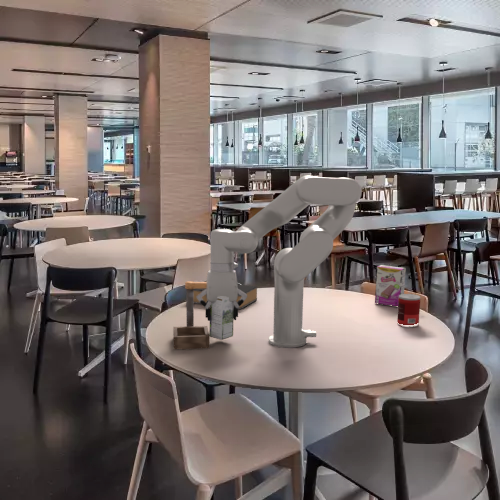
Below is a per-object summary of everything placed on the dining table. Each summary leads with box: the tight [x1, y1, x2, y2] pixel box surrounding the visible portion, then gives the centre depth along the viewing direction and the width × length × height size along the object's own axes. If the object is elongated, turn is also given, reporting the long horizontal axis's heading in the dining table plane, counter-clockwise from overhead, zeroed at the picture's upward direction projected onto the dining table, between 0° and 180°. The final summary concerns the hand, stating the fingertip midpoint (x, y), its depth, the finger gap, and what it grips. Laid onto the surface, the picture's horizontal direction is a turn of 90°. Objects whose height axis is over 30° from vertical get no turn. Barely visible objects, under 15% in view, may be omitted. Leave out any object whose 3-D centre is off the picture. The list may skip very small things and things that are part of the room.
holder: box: [172, 289, 211, 350], centre depth 191 cm, size 11×18×16 cm, turn 8°
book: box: [194, 280, 258, 310], centre depth 244 cm, size 17×25×7 cm
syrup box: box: [208, 296, 235, 341], centre depth 189 cm, size 6×6×14 cm
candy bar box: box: [374, 264, 407, 307], centre depth 242 cm, size 11×5×16 cm, turn 58°
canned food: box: [396, 293, 421, 325], centre depth 213 cm, size 8×8×11 cm
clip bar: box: [184, 281, 207, 289], centre depth 196 cm, size 3×15×2 cm, turn 96°
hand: (221, 319), depth 189 cm, fingers closed on syrup box, 8 cm apart
